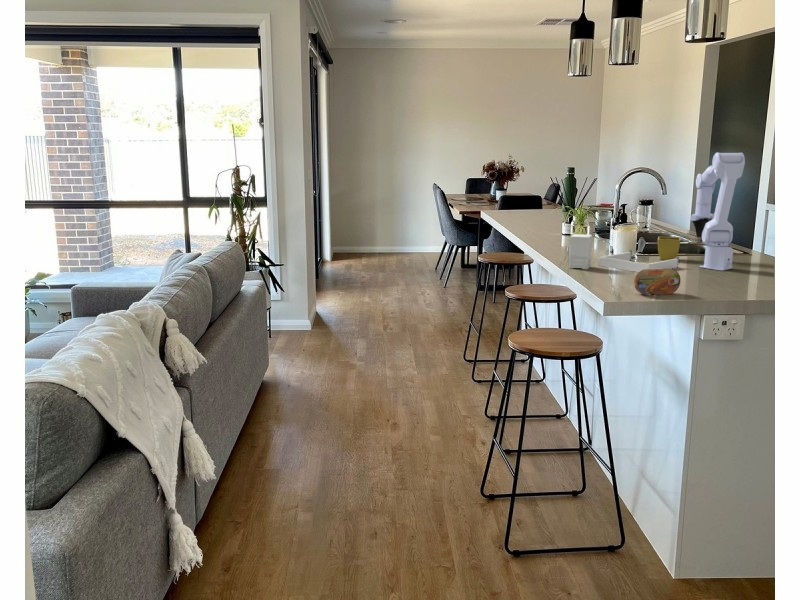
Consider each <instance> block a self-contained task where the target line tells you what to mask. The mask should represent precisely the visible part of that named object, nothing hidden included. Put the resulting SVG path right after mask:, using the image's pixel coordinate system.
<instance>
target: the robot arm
mask: <svg viewBox="0 0 800 600" xmlns="http://www.w3.org/2000/svg"><path fill="white" fill-rule="evenodd" d="M711 162H712V164H711V165H709V166H708V167H707V168H706V169H705V170H704V171H703V173H698V174H697V175H696V179H695V187H696V199H695V212H694V213H693V214H692V215H690V221H692V223H693V226H694V228H695V234H696V237H697V238H701V241H702V242H703V244H704V245H705V251H704V261H703V265H699V268H701V269H703V268H704V269H709V270H710V269H711V270H716V271H727V270H730V269H733V257H734V250H733V247H731V246H729V245H730V244H731V242H732V241H733V237H734V236H733V235H734V233H733V232H734V227H733V225H732V223H730V222H729V221H728V219H729V214H730V209H731V204H732V201H733V197H734V192H735V187H736V184H737V180H738V179H740V178H742V176H743V173H744V168H745V165H746V159H745V154H744V153H743V152H715V154H713V157H712V161H711ZM718 179H720V181H721V182H720V187H719V191H718V196H717V200H716V204H715V209H714V213H711V211H712V210H711V209H712V200H713V193H714V192H715V187H716V184H717V183H716V181H717V180H718Z"/></svg>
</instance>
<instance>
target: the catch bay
mask: <svg viewBox="0 0 800 600" xmlns="http://www.w3.org/2000/svg"><path fill="white" fill-rule="evenodd" d="M632 253H633V250H632V249H628V251H627V252H620V253H616V254H609V255H604V256H599V260H598V266H599V265H600V266H599V267H604V266H605V268H611V269H617V270H624V271H629V272H634V271H635V273H638V272H640V271H641V270H644V269H661V268H669V269H672V268H673V269H678V268H679V261H680V260H679V258H680V256H679V255H677V256H676V258H675V259H671V260H661V261H657V262H656V261H655V262H651V263H644V262H637V261H632ZM630 260H631V261H630ZM677 267H678V268H677Z"/></svg>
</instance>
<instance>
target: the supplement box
mask: <svg viewBox="0 0 800 600" xmlns="http://www.w3.org/2000/svg"><path fill="white" fill-rule="evenodd" d="M569 239H570V240H569V241H570V242H569V258H568V259H569V261H568V269H573V268H582V269H581V270H589V269H590V268H591V267H590V266H592V251H593V250H592V247H593V244H592V243H593V235H592V234H581V233H580V234H577V233H574V234H572V235H571V236H569ZM589 267H590V268H589ZM588 268H589V269H588Z"/></svg>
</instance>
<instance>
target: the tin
mask: <svg viewBox="0 0 800 600" xmlns="http://www.w3.org/2000/svg"><path fill="white" fill-rule="evenodd" d="M636 273H637V274H635V277H634V281H633V285H634V288H635V290H636V291H637V292H638V293H639V294H642V295H644V296H650V295H649V294H666V295H671V294H673V293H675V292H676V291H678V289H679V288H680V285H681V276H680V274H679V272H678V270H675V268H673V269H669V268H661V269H644V270H641V271H640V272H636Z"/></svg>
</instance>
